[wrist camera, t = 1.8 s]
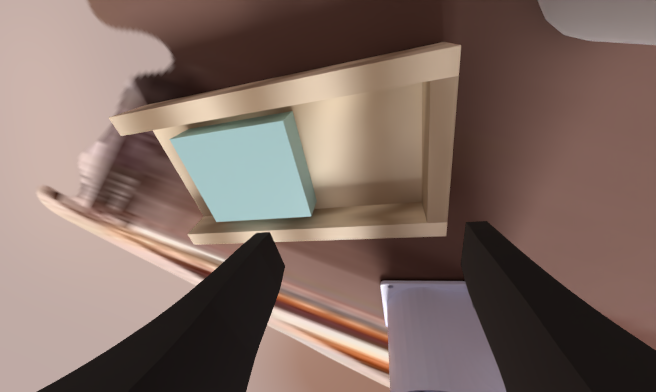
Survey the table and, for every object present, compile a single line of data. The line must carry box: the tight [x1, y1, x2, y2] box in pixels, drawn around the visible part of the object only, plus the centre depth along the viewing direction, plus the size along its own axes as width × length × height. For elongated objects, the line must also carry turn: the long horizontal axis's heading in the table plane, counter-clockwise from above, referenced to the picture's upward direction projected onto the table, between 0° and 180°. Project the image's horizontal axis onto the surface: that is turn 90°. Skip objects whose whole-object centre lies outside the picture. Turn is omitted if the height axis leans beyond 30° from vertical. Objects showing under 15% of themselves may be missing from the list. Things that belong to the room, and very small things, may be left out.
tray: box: [109, 42, 461, 245], centre depth 17 cm, size 20×11×3 cm, turn 102°
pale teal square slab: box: [169, 111, 317, 222], centre depth 18 cm, size 8×7×2 cm
